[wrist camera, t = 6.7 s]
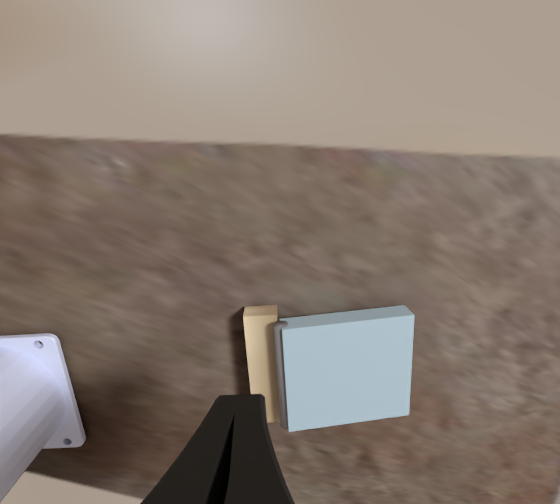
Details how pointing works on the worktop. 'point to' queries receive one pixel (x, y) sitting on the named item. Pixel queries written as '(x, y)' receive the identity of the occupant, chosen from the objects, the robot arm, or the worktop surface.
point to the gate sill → (262, 356)
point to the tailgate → (343, 367)
